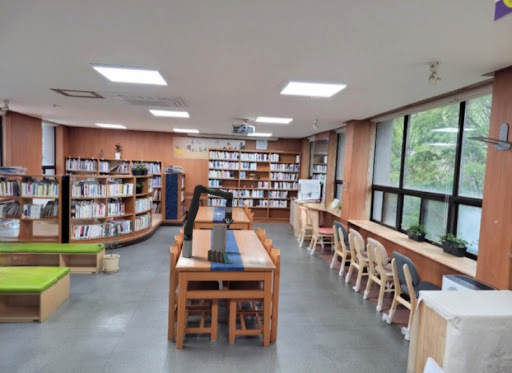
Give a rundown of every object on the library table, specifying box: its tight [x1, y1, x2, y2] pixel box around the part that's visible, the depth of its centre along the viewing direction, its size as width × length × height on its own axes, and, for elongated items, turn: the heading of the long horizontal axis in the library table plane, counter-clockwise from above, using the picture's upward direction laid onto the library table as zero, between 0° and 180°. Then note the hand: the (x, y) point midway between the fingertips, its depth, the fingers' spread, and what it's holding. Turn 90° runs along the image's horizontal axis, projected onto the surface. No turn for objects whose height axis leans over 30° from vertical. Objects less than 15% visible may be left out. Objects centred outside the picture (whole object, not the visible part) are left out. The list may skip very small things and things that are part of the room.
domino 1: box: [206, 249, 212, 262], centre depth 308 cm, size 2×5×10 cm, turn 158°
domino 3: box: [215, 251, 221, 263], centre depth 304 cm, size 2×5×10 cm, turn 158°
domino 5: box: [223, 251, 230, 265], centre depth 301 cm, size 2×5×10 cm, turn 158°
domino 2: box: [211, 250, 217, 263], centre depth 306 cm, size 2×5×10 cm, turn 158°
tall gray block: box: [211, 224, 228, 254], centre depth 338 cm, size 14×6×30 cm, turn 103°
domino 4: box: [220, 252, 225, 264], centre depth 303 cm, size 2×5×10 cm, turn 158°
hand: (228, 228), depth 315 cm, fingers closed
